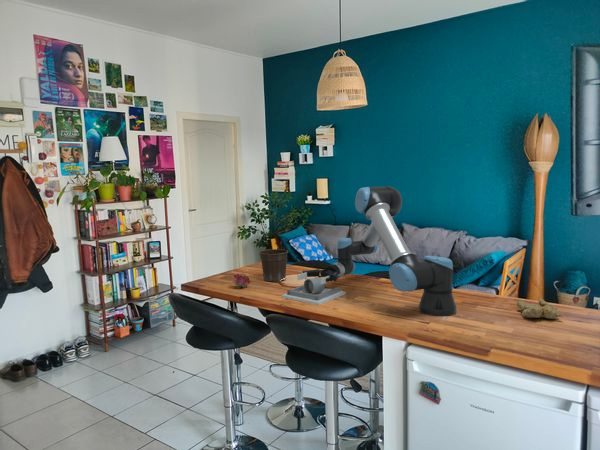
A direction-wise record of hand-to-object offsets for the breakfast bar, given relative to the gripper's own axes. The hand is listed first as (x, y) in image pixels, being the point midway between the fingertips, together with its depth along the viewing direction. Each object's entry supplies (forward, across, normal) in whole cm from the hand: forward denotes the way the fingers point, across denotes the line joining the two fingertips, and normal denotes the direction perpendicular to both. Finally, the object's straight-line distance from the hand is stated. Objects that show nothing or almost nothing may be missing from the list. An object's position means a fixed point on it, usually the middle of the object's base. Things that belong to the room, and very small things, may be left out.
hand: (309, 279), depth 214 cm
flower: (+5, +40, -9) cm, 42 cm away
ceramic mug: (-4, +1, -8) cm, 9 cm away
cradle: (-3, 0, -9) cm, 9 cm away
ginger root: (-29, -93, -9) cm, 98 cm away
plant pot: (-17, +38, -9) cm, 42 cm away
